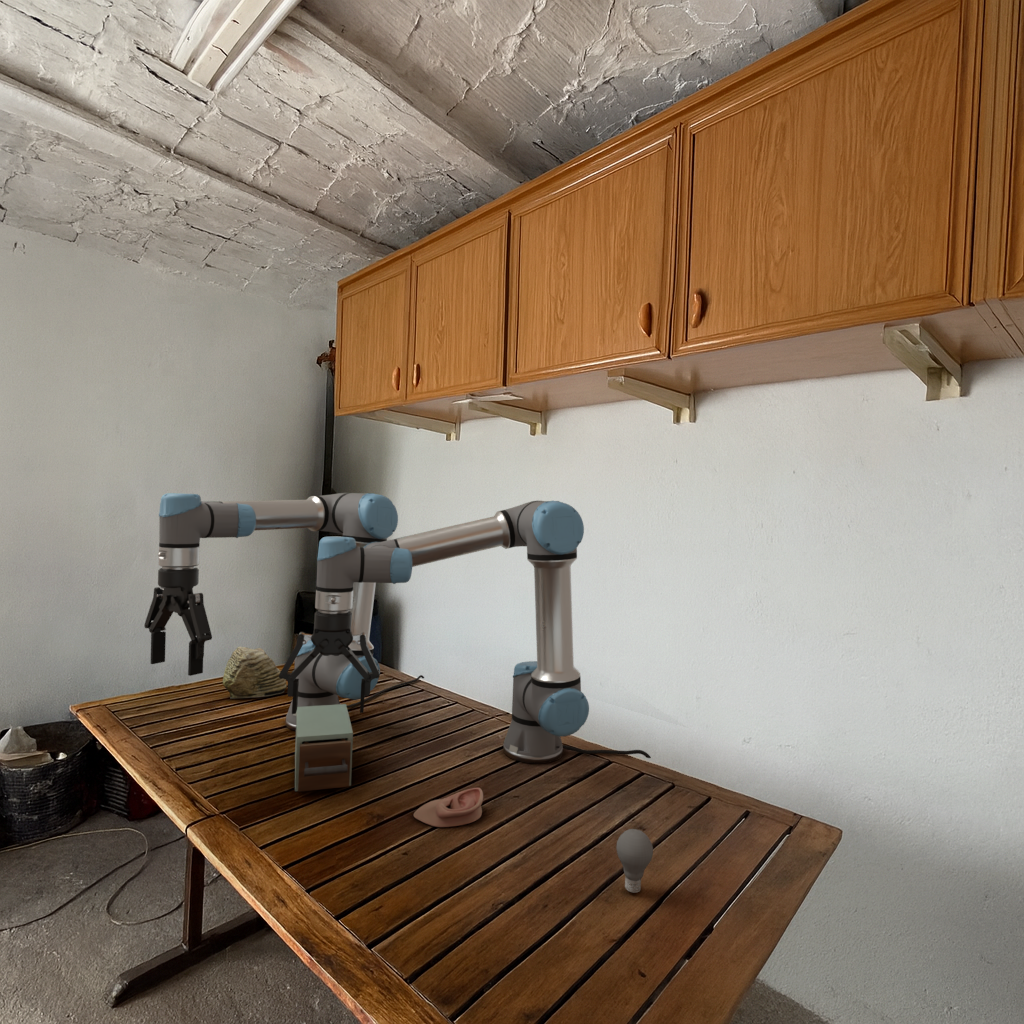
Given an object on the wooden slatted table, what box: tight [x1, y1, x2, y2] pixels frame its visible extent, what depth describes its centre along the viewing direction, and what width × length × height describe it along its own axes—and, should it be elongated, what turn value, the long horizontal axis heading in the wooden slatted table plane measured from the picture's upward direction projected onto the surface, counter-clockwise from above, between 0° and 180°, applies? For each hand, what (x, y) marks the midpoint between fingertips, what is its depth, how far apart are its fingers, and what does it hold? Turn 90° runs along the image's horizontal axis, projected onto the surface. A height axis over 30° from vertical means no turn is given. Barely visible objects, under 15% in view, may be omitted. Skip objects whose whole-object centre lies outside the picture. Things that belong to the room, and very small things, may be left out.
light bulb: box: [615, 828, 654, 894], centre depth 106 cm, size 6×6×10 cm
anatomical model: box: [413, 787, 484, 828], centre depth 129 cm, size 13×4×12 cm
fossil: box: [222, 646, 288, 699], centre depth 198 cm, size 9×18×15 cm, turn 132°
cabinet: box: [294, 703, 354, 792], centre depth 147 cm, size 20×12×12 cm, turn 19°
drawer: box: [297, 738, 351, 793], centre depth 141 cm, size 24×10×10 cm, turn 19°
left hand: (176, 668), depth 133 cm, fingers open, 13 cm apart
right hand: (328, 711), depth 133 cm, fingers open, 13 cm apart
